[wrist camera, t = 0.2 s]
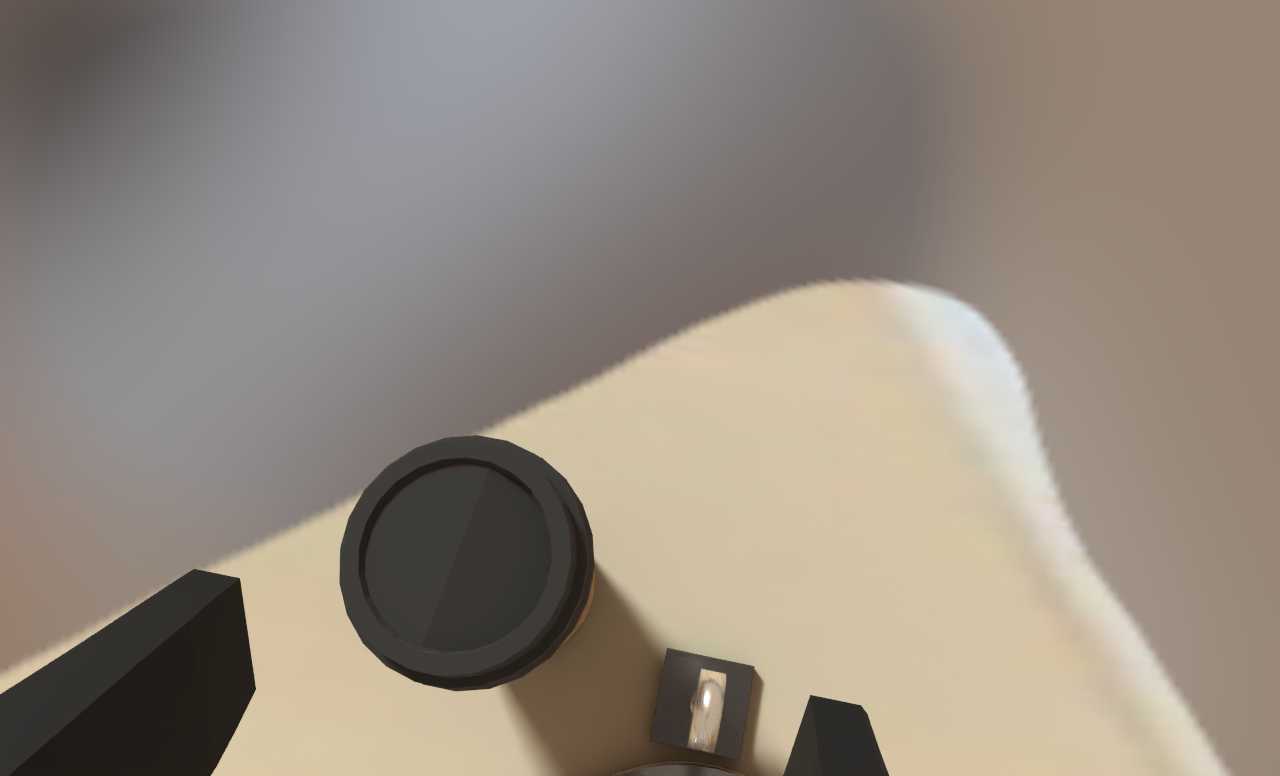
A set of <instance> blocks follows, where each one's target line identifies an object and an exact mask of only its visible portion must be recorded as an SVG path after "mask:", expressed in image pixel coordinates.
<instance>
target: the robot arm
mask: <svg viewBox="0 0 1280 776" xmlns="http://www.w3.org/2000/svg"><path fill="white" fill-rule="evenodd" d="M255 690H256V686H255V679H254V673H253V666H252V659H251V652H250V645H249V638H248V631H247V624H246V617H245V610H244V603H243V596H242V590H241V583H240V578H236V577H231V576H226V575H221V574H216V573H211V572H207V571H202V570H197V569H193V570H192V571H190V572H188V573H187V574H185V575H184V576H182V577H181V578H179V579H177V580H176V581H174V582H173V583H171V584H170V585H168V586H167V587H165V588H164V589H162V590H161V591H159V592H158V593H156V594H154V595H153V596H151V597H150V598H148V599H147V600H145V601H144V602H142V603H141V604H139V605H138V606H136V607H135V608H133V609H132V610H130V611H129V612H127V613H126V614H124V615H123V616H121V617H119V618H118V619H116V620H115V621H113V622H112V623H110V624H109V625H107V626H106V627H104V628H103V629H101V630H100V631H98V632H97V633H95V634H94V635H92V636H91V637H89V638H88V639H86V640H85V641H83V642H81V643H80V644H78V645H77V646H75V647H74V648H72V649H71V650H69V651H68V652H66V653H64V654H63V655H61V656H60V657H58V658H57V659H55V660H54V661H52V662H50V663H49V664H47V665H46V666H44V667H43V668H41V669H39V670H38V671H36V672H35V673H33V674H32V675H30V676H28V677H27V678H25V679H24V680H22V681H21V682H19V683H17V684H16V685H14V686H13V687H11V688H10V689H8V690H6V691H5V692H3V693H2V694H0V776H211V774H212V773H213V771H214V770H215V768H216V766H217V765H218V763H219V761H220V759H221V757H222V755H223V753H224V751H225V749H226V748H227V746H228V744H229V742H230V740H231V738H232V736H233V734H234V733H235V731H236V729H237V727H238V725H239V723H240V720H241V718H242V716H243V714H244V712H245V710H246V708H247V706H248V704H249V702H250V700H251V698H252V696H253V694H254V692H255ZM783 776H889V774H888V772H887V769H886V766H885V763H884V761H883V758H882V755H881V753H880V750H879V747H878V744H877V741H876V738H875V735H874V732H873V730H872V727H871V724H870V720H869V717H868V714H867V713H866V711H865V710H864V709H863V707H862V706H861V705H856V704H852V703H847V702H842V701H837V700H832V699H827V698H822V697H817V696H812V695H810V698H809V701H808V704H807V707H806V710H805V713H804V716H803V719H802V722H801V725H800V728H799V731H798V734H797V737H796V740H795V743H794V746H793V749H792V752H791V755H790V758H789V761H788V763H787V766H786V769H785V772H784V775H783Z"/></svg>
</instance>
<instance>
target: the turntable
mask: <svg viewBox="0 0 1280 776" xmlns="http://www.w3.org/2000/svg"><path fill="white" fill-rule="evenodd" d="M611 776H746V775H743V774H741V773H739V772H737V771H733V770H730V769H727V768H723V767H720V766H716V765H712V764H705V763H698V762H692V761H665V762H658V763H651V764H644V765H640V766H637V767H633V768H630V769H626V770H623V771H620V772H618V773H615V774H613V775H611Z"/></svg>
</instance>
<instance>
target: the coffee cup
mask: <svg viewBox="0 0 1280 776" xmlns="http://www.w3.org/2000/svg"><path fill="white" fill-rule="evenodd" d="M340 587H341V591H342V595H343V599H344V604H345V608H346V612H347V615H348V617H349V619H350V621H351V623H352V624H353V626H354V628H355V630H356V631H357V633H358V635H359V637H360V639H361V640H362V642H363V644H364V645H365V646H366V647H367V648H368V649H369V650H370V651H371V652H372V653H373V654H374V655H375V656H376V657H377V658H378V659H379V660H380V661H381V662H382V663H384V664H385V665H386V666H387V667H389V668H390V669H392V670H394V671H396V672H398V673H400V674H402V675H404V676H405V677H407V678H409V679H411V680H413V681H415V682H418V683H422V684H424V685H428V686H433V687H438V688H443V689H448V690H452V691H467V690H480V689H490V688H493V687H496V686H499V685H502V684H504V683H507V682H510V681H513V680H515V679H518V678H521V677H523V676H524V675H526V674H527V673H529V672H530V671H531V670H533V669H534V668H536V667H537V666H539V665H540V664H541V663H543V662H544V661H546V660H547V659H549V658H550V657H551V656H552V655H553V654H554V652H555V651H556V650H557V649H558V648H559V647H560V646H562V645H563V644H565V643H566V642H567V641H568V640H569V639H570V638H571V637H572V635H573V634H574V633H575V632H576V631H577V630H578V628H579V627H580V626H581V625H582V624H583V622H584V620H585V618H586V616H587V614H588V612H589V610H590V607H591V604H592V599H593V594H594V589H595V588H594V587H595V576H594V552H593V535H592V532H591V529H590V525H589V522H588V519H587V516H586V513H585V510H584V507H583V504H582V503H581V501H580V500H579V498H578V497H577V495H576V494H575V492H574V491H573V489H572V488H571V486H570V485H569V483H568V482H567V480H566V479H565V478H564V477H563V476H562V475H561V474H560V473H559V472H558V471H556V470H555V469H554V468H553V467H552V466H551V465H549V464H548V463H547V462H546V461H545V460H544V459H543V458H541V457H539V456H537V455H536V454H534V453H531V452H529V451H527V450H525V449H523V448H521V447H519V446H517V445H515V444H513V443H511V442H509V441H505V440H500V439H494V438H489V437H483V436H478V435H475V436H462V437H450V438H444V439H441V440H438V441H435V442H432V443H429V444H426V445H423V446H420V447H417V448H415V449H413V450H412V451H410V452H409V453H407V454H406V455H404V456H403V457H401V458H399V459H398V460H396V461H395V462H393V463H392V464H390V465H389V466H388V467H387V468H385V469H384V470H383V471H382V472H381V474H380V475H378V477H377V478H376V479H375V480H374V481H373V482H372V483H371V484H370V485H369V486H368V487H367V488H366V489H365V490H364V492H363V494H362V495H361V497H360V499H359V501H358V502H357V504H356V506H355V508H354V509H353V511H352V513H351V515H350V516H349V519H348V523H347V526H346V530H345V533H344V537H343V540H342V544H341V549H340Z"/></svg>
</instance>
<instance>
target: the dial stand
mask: <svg viewBox="0 0 1280 776" xmlns="http://www.w3.org/2000/svg"><path fill="white" fill-rule="evenodd" d="M753 671H754V666H750V665H745V664H740V663H736V662H731V661H726V660H721V659H717V658H712V657H707V656H702V655H698V654H693V653H688V652H683V651H679V650H674V649H669V648H667V652H666V657H665V663H664V668H663V674H662V679H661V684H660V690H659V695H658V701H657V706H656V711H655V717H654V722H653V728H652V733H651V739H650V741H655V742H659V743H664V744H668V745H673V746H678V747H682V748H687V749H691V750H696V751H700V752H705V753H709V754H714V755H719V756H723V757H728V758H732V759H737V760H740V753H741V747H742V741H743V734H744V728H745V722H746V715H747V709H748V703H749V696H750V690H751V684H752V677H753Z"/></svg>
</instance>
